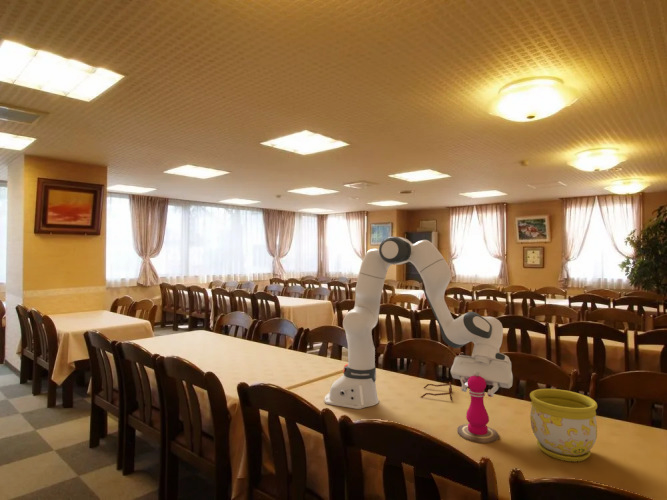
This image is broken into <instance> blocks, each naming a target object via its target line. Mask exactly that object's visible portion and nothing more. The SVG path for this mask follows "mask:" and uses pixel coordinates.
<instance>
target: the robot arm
mask: <svg viewBox="0 0 667 500" xmlns="http://www.w3.org/2000/svg"><path fill="white" fill-rule="evenodd" d="M409 263H411V264H412V265H413V266H414V267H415V269H416V271H417V272H418V274H419V276H420V278H421V280H422V282H423V285H424V289H425V291H424V293H425V297H426V299H427V302H428V304H429V306H430V308H431V310H432V313H433V315H434V318H435V319H436V321H437V324H438V326H439V330H440V334H441V337H442V340H443V341H444V342H445V344H447V346H449V347H451V348H453V349H461V348H462V347H463V346H465V345H467V344H468V343H473V344H474V345H473V348H472V353H471V355H465V354H459V355H456V356H455V357H454V360H453V363H452V365H451V368H450V374H451V377H452V378H453V379H455V380H460V383H461V387H460V390H461V391H462V392H465V393H467V390H468V385H467V384H465V383H466V382H468V379H469V378H470V377H471V376H474V372H475V371H477V372H479V376H481V377H482V378H484V379H485V381H486V386H487V385H488V386H492V388H491V389H488V390H487V397H490V398H493V397H494V395H495V393H496V392H497V391H498V390H499V388H504V389H510V388H511V387H512V386H513V382H514V381H513V380H514V375H513V371H512V361H511V360H510V357H509V356H508V355H506V354H504V353H501V352H500V348H501V346H502V343H503V337H504V327H503V324H502V322H501V321H500V320H499V319H498V318H495V317H493V316H482V315H480V314H479V313H477V312H474V311H468V312H466V313H464V314H462V315H459V316H458V317H457V318H455V319H454V317H453V316H452V314H451V311H450V309H449V307H448V305H447V302H446V300H445V293H446V290H447V288H448V285H449V284H450V282H451V279H452V270H451V268H450V266H449V264H448V262H447V261H446V259H445V258H444V256H443V254H442V253H441V252H440V250H439V249H438V248H437V247H436V246H435V245H434V244H433V243H432V242H431V241H430V240H428V239H422V240H418V241H416V242H415V243H413V241H412V240H410V239H407V238H405V237H402V236H389V237H386V238H385V239H384V240H381V243H380V244H379V247H378V248H370V249H369V250H367V251H366V253H365V255H364V257H363V259H362V262H361V265H360V269H359V272H358V276H357V279H356V284H355V285H356V286H355V289H354V292H355V299H354V307H353V308H352V309H350V310H349V311H347V312H346V314H345V315H344V318H343V320H342V328H343V329H344V331H345V336H346V337H345V338H346V342H347V353H348V354H347V356H348V357H347V363H345V365H344V366H343V369H342V370H343V371H342V373H343V375H341V376H340V377H339V378H337V379H336V380H335V381H334V382H333V383H332V385H331V386H330V389H329V392H328V393H327V394H326V395H325V396H324V400H323V401H325V402H324V404H327V405H332V406H337V407H344V408H350V409H356V410H360V409H364V408H367V407H373V406H375V405H377V404H379V402H380V400H379V397H378V391H377V386H376V385H377V384H376V381H377V367H376V363H375V361H376V358H375V357H376V356H375V355H376V351H375V350H376V348H375V345H374V341H373V340H374V339H373V335H372V333H373V332H372V331H373V329H374V328H375V327H376V326H377V324H378V323H379V317H380V316H379V315H380V309H381V300H382V293H383V289H384V285H385V282H386V277H387V273H388V269H389V268H390V266H392V265H398V266H399V265H406V264H409Z"/></svg>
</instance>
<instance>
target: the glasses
mask: <svg viewBox="0 0 667 500" xmlns="http://www.w3.org/2000/svg"><path fill="white" fill-rule="evenodd" d="M428 386H431V387H432V386H433V387H437V388H438V387H444V386H445V387H446V386H449V388H448V392H443V393H433V392H425V393H423V395H421V396H419V398H424V397H425V396H427V395H428V396H429V395H430V396H445V395H449V398H450V400H451V401H452V400H453V398H452V397H453V396H452V394H453V388H452V382H451V381H449V382H448V383H443V384H432V383H428V384H426V385H425V386H424V387H423V388H425V389H426V388H428Z"/></svg>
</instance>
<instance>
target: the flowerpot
mask: <svg viewBox="0 0 667 500" xmlns="http://www.w3.org/2000/svg"><path fill="white" fill-rule="evenodd" d="M529 398H530V400H531V401H530V405H531V407H530V408H531V409H530V415H529V417H530V419H529V420H530V426H531V430H532V433H533V435H534V436H535V438H536V439H537V440H536V444H537V446H538V447H539V449H540V450H541V452H543V453H544V454H546V455H548V456H549V457H552V458H553V459H556V460H561V461H564V460H565V462H571V461H572V462H577V461H578V462H582V461H583V462H584V461H585V460H587V458H589V457H590V456H591V449H592V448H593V447H594V445H595V443H596V441H597V438H598V423H597V417H596V415H597V412H596V410H597V409H598V403H597V402H596V401H595V400H594V399H593V398H591V397H590V396H588V395H586V394H585V395H584V394H583V393H578V392H575V391H570V390H565V389H558V388H539V389H534V390H532V391H531V392H530V393H529ZM578 462H577V463H578Z"/></svg>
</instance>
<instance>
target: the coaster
mask: <svg viewBox="0 0 667 500" xmlns="http://www.w3.org/2000/svg"><path fill="white" fill-rule="evenodd" d="M468 424H469V423H464V424H461V425H458V427H457V428H456V429H457V430H456V431H457V435H459V436H460V437H461V438H463V439H464V440H466V441H469V442H472V443H473V442H474V443H479V444H488V443H489V444H490V443H495V442H496V441H498V439H499V433H498V431H496V429H494V428H492V427H490V426H488V425H486V426H487V427H488V432H487V434H484V435H477V434H473V433H471V432H469V430H468Z"/></svg>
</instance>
